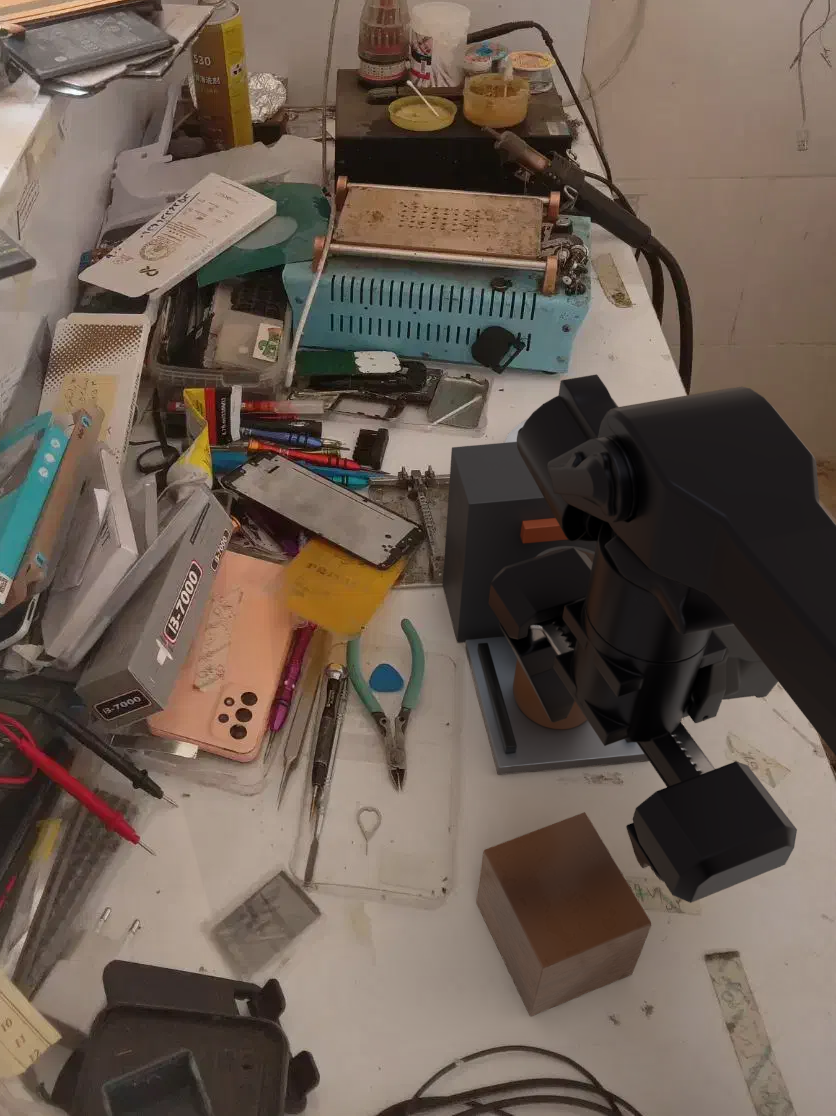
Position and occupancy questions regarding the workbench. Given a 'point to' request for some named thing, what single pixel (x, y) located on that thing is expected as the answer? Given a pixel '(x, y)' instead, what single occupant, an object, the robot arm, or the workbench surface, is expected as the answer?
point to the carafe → (526, 693)
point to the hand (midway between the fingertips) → (600, 785)
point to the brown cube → (560, 913)
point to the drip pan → (520, 737)
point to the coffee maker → (491, 531)
